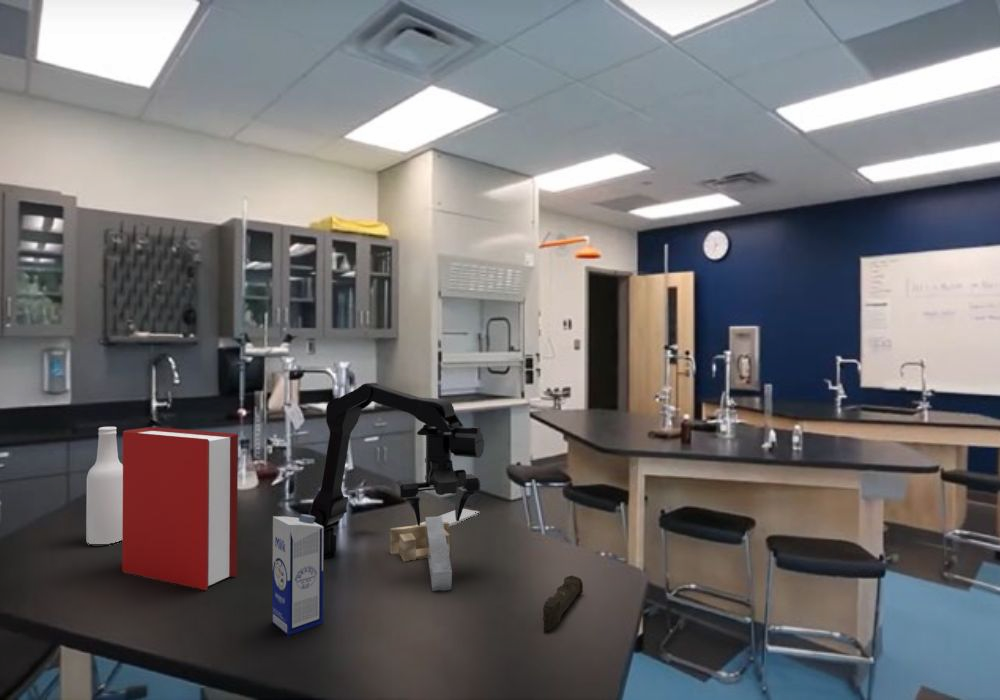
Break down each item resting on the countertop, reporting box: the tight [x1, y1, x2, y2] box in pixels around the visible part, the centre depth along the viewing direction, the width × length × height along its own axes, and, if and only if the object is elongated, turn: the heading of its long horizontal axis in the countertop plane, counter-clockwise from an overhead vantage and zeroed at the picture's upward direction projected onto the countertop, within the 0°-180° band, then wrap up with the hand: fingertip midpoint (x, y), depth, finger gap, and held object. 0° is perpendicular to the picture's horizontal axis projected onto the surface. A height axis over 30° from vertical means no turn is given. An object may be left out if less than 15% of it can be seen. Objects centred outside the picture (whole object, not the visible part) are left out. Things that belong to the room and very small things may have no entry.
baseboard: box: [413, 504, 480, 528], centre depth 167 cm, size 30×3×10 cm
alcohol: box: [85, 426, 123, 545], centre depth 150 cm, size 9×9×30 cm
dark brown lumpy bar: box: [542, 575, 584, 633], centre depth 112 cm, size 19×4×5 cm, turn 154°
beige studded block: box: [389, 522, 451, 562], centre depth 143 cm, size 15×8×6 cm, turn 112°
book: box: [121, 426, 239, 591], centre depth 129 cm, size 27×8×32 cm, turn 68°
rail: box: [424, 515, 453, 592], centre depth 131 cm, size 4×22×4 cm, turn 12°
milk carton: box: [271, 513, 324, 636], centre depth 106 cm, size 7×7×20 cm
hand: (438, 522), depth 131 cm, fingers open, 9 cm apart
